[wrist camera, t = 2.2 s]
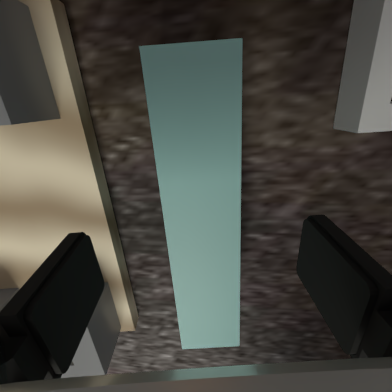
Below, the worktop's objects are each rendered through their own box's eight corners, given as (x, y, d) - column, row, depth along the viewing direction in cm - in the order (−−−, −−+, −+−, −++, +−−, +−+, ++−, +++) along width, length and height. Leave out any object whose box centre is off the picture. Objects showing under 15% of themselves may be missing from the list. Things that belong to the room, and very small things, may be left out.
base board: (138, 316, 22) (134, 330, 21) (20, 323, 23) (9, 337, 21) (63, 3, 13) (48, -9, 11) (-142, 21, 13) (-182, 11, 11)
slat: (227, 282, 21) (239, 346, 16) (185, 284, 21) (182, 349, 16) (223, 63, 14) (242, 38, 9) (160, 68, 14) (138, 46, 9)
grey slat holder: (121, 327, 21) (105, 376, 17) (19, 333, 21) (-18, 383, 17) (28, 6, 11) (-50, -40, 8) (-153, 21, 12) (-313, -16, 8)
